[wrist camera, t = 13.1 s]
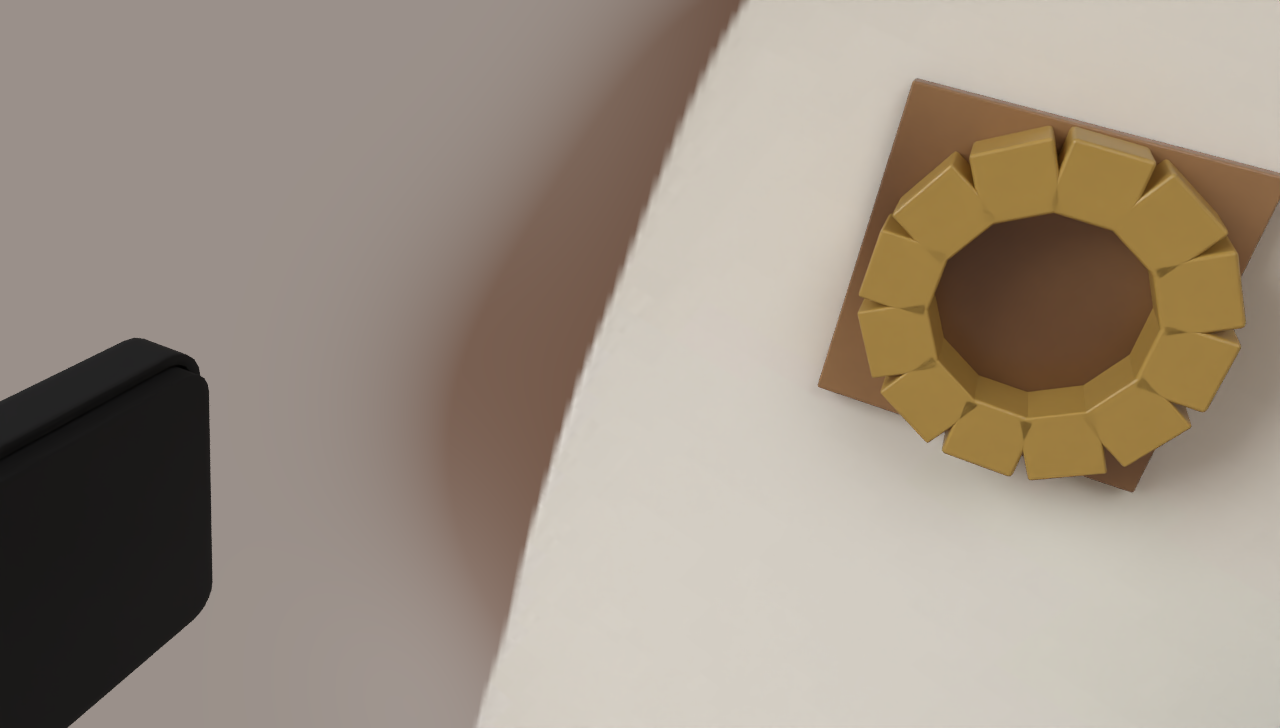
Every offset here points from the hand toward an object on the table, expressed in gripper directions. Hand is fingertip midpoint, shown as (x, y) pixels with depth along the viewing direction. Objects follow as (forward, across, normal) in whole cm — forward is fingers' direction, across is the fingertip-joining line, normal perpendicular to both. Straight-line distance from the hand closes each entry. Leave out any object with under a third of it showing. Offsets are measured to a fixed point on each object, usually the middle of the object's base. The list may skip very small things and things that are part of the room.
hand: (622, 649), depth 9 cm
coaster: (+18, -4, +2) cm, 18 cm away
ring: (+17, -4, +2) cm, 18 cm away
